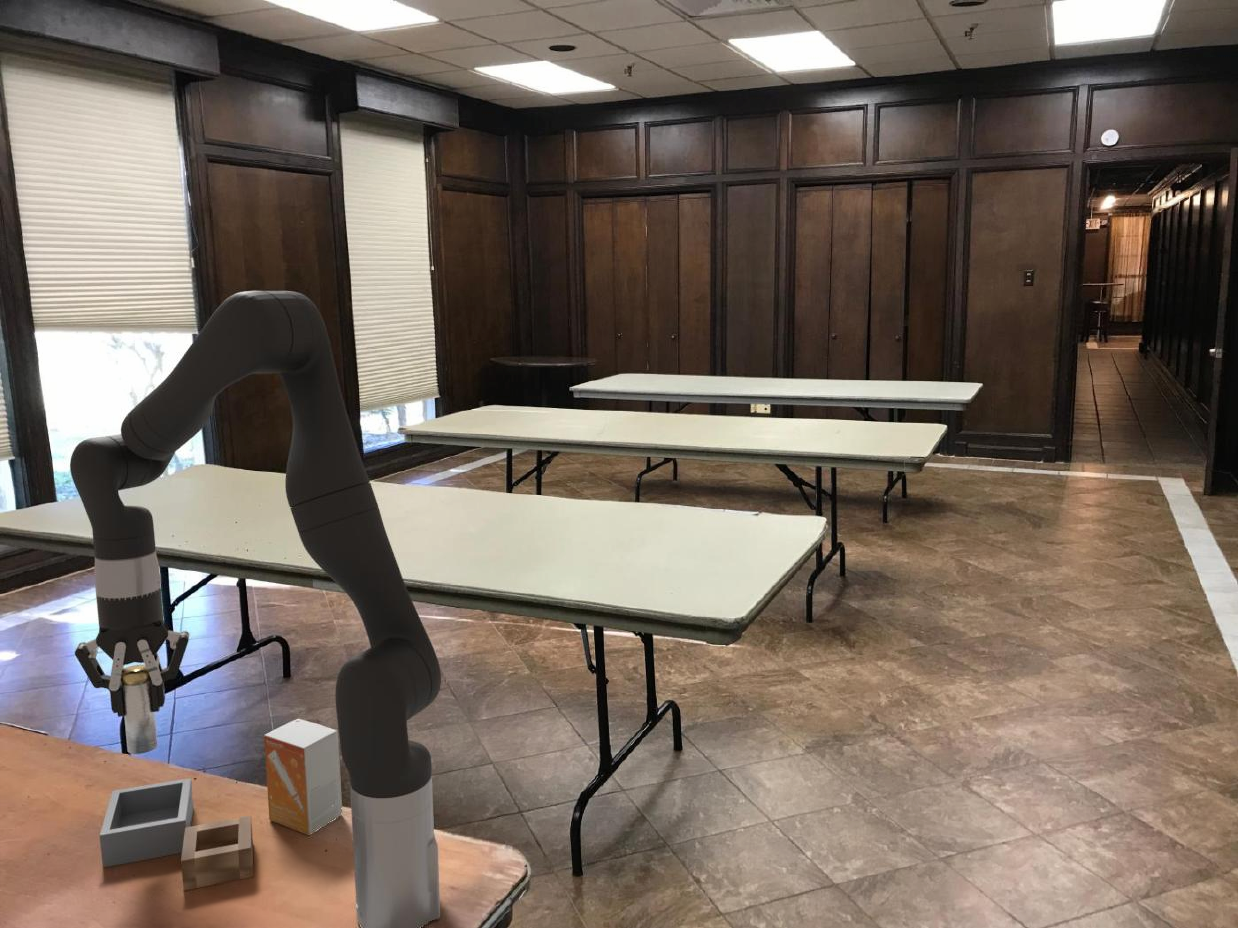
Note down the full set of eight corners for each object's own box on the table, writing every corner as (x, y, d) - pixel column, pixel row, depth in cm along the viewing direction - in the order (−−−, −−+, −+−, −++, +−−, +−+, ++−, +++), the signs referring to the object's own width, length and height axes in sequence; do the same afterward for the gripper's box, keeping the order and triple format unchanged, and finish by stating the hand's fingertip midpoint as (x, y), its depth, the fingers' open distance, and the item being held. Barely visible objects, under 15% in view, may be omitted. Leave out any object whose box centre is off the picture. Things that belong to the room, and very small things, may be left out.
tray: (193, 806, 135) (191, 777, 135) (188, 851, 124) (185, 820, 123) (115, 820, 132) (112, 790, 131) (102, 867, 121) (99, 835, 120)
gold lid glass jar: (158, 739, 128) (152, 663, 126) (156, 751, 125) (149, 672, 123) (129, 743, 127) (122, 666, 125) (125, 755, 124) (118, 676, 122)
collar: (252, 843, 126) (250, 815, 125) (252, 876, 119) (250, 847, 118) (187, 855, 123) (185, 827, 123) (183, 890, 116) (181, 860, 115)
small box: (268, 821, 132) (262, 734, 129) (303, 800, 137) (298, 716, 135) (309, 837, 128) (303, 747, 125) (344, 815, 133) (339, 729, 131)
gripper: (60, 601, 116) (74, 732, 119) (186, 589, 121) (196, 715, 124) (71, 584, 123) (84, 708, 126) (190, 574, 128) (199, 693, 131)
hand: (139, 711), depth 125 cm, fingers closed on gold lid glass jar, 3 cm apart
